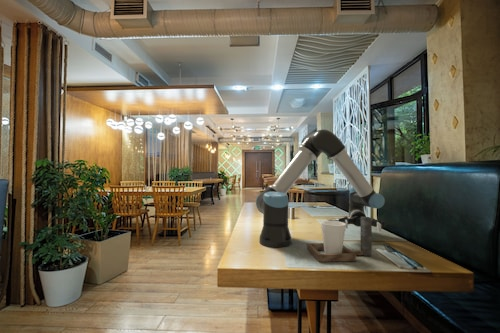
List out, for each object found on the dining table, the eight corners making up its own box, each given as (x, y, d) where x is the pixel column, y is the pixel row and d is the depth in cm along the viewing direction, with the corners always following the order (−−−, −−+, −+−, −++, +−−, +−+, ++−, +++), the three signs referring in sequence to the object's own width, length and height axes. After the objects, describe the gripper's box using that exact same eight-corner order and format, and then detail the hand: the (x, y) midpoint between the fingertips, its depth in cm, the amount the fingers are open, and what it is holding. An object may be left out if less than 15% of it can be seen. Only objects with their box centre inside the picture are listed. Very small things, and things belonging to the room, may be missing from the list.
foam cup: (328, 249, 105) (329, 219, 105) (349, 255, 98) (349, 223, 98) (316, 254, 99) (316, 222, 99) (337, 261, 92) (338, 226, 92)
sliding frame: (318, 261, 91) (318, 221, 91) (307, 249, 105) (307, 214, 105) (380, 260, 92) (380, 220, 92) (360, 248, 106) (360, 214, 107)
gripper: (384, 227, 125) (395, 238, 104) (333, 223, 133) (333, 232, 112) (384, 212, 125) (395, 220, 105) (333, 209, 133) (333, 216, 113)
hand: (363, 226), depth 108 cm, fingers open, 13 cm apart
